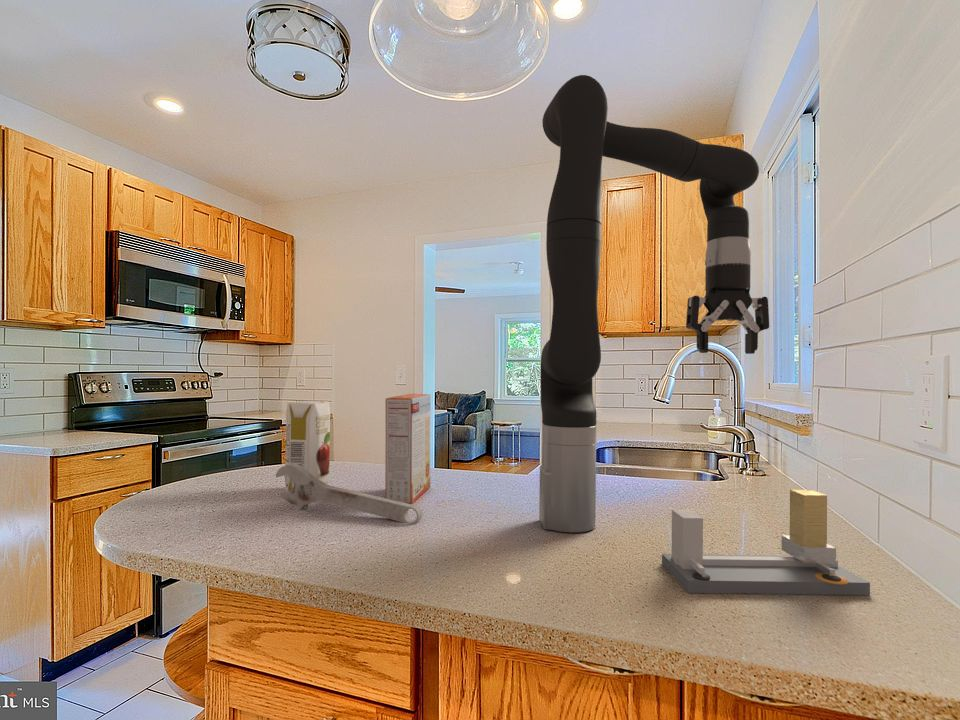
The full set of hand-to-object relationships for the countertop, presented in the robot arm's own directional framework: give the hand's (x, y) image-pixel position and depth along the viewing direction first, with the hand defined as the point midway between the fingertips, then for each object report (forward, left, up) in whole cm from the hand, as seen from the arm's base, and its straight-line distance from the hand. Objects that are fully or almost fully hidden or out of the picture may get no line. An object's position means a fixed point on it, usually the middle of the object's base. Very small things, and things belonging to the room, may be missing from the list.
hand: (727, 353), depth 96 cm
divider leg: (-2, -28, -28) cm, 40 cm away
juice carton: (-82, +16, -30) cm, 89 cm away
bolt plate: (-9, -28, -30) cm, 42 cm away
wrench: (-70, -1, -30) cm, 76 cm away
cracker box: (-60, +13, -30) cm, 68 cm away
